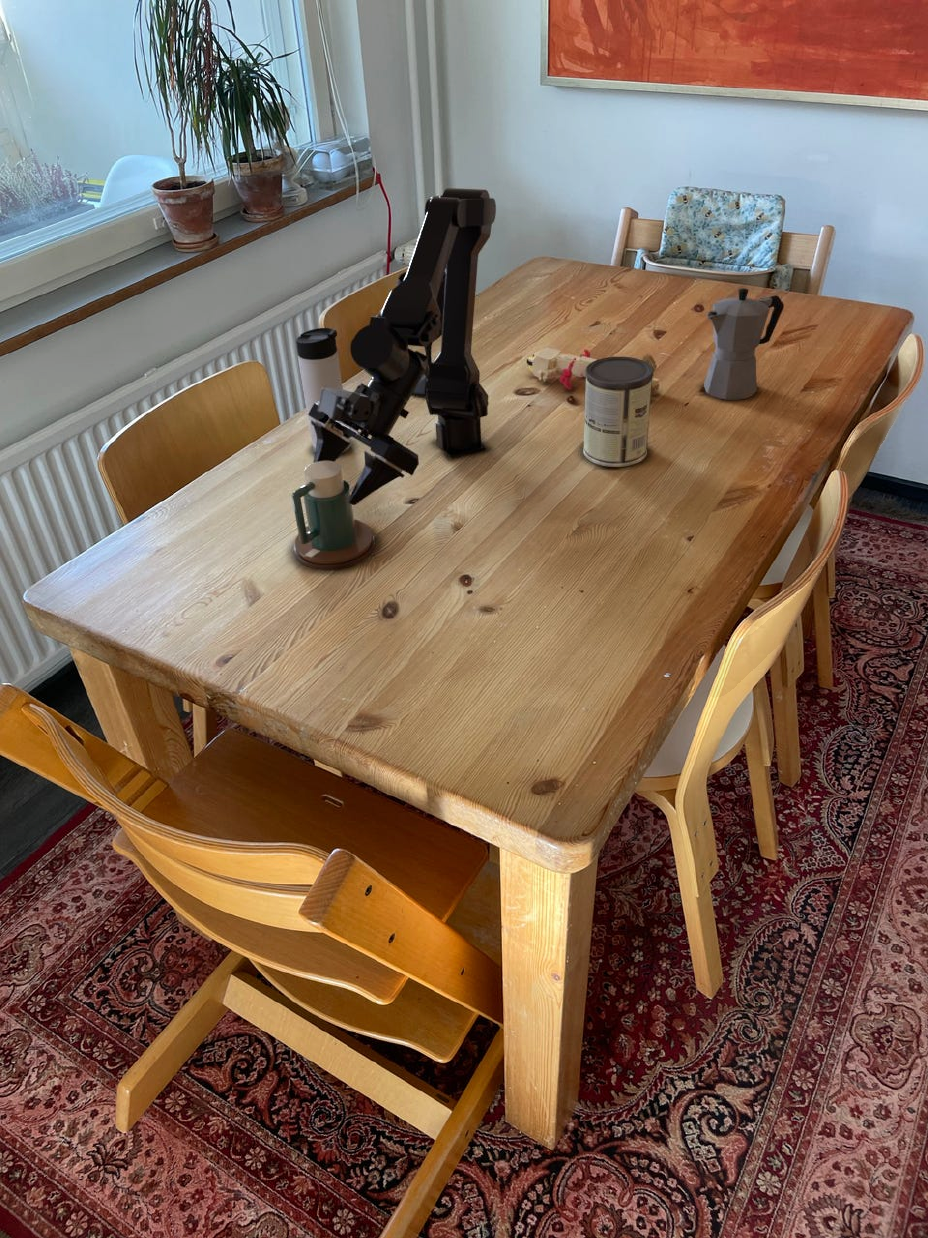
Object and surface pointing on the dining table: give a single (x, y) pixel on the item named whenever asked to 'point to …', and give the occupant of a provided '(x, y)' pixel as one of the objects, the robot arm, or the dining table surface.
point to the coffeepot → (738, 343)
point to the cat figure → (570, 366)
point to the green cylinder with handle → (328, 517)
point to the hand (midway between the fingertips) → (331, 491)
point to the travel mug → (318, 368)
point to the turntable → (336, 565)
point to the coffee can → (617, 411)
